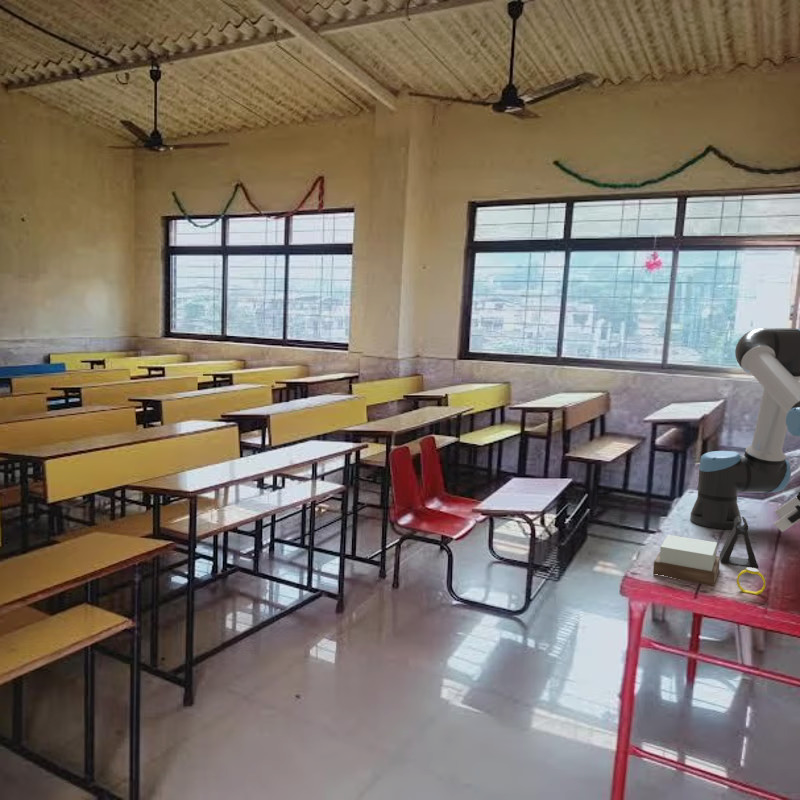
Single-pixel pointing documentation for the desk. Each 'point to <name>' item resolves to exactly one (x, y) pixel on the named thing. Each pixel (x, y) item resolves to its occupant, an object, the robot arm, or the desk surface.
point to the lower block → (687, 572)
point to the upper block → (688, 552)
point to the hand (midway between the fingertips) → (778, 521)
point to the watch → (752, 571)
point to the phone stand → (730, 545)
